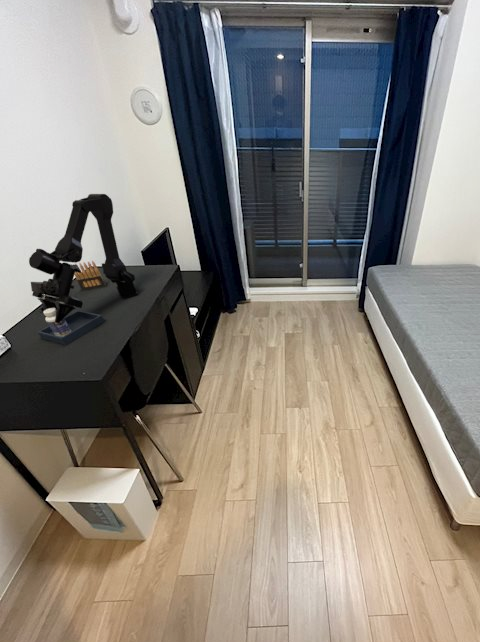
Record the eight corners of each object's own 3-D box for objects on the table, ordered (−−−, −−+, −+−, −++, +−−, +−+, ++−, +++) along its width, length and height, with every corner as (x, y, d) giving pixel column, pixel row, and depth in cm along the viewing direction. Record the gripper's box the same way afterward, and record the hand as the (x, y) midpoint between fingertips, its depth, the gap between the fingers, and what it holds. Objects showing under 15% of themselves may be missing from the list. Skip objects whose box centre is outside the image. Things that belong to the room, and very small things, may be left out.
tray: (81, 316, 134) (78, 310, 132) (104, 321, 130) (101, 315, 128) (41, 338, 122) (37, 332, 121) (65, 345, 118) (61, 338, 116)
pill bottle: (64, 338, 120) (49, 314, 114) (52, 337, 121) (37, 313, 115) (75, 330, 124) (61, 307, 118) (63, 329, 125) (48, 306, 119)
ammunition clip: (81, 290, 154) (68, 265, 146) (82, 289, 155) (69, 263, 147) (106, 286, 156) (94, 261, 148) (106, 284, 157) (94, 259, 149)
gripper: (21, 267, 114) (9, 310, 114) (56, 273, 107) (44, 319, 107) (54, 279, 124) (44, 319, 124) (88, 286, 118) (77, 328, 118)
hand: (51, 321), depth 118 cm, fingers closed on pill bottle, 5 cm apart
